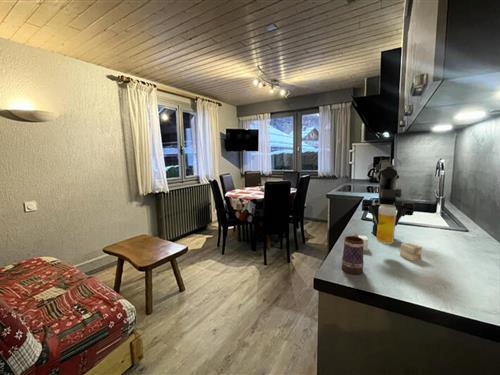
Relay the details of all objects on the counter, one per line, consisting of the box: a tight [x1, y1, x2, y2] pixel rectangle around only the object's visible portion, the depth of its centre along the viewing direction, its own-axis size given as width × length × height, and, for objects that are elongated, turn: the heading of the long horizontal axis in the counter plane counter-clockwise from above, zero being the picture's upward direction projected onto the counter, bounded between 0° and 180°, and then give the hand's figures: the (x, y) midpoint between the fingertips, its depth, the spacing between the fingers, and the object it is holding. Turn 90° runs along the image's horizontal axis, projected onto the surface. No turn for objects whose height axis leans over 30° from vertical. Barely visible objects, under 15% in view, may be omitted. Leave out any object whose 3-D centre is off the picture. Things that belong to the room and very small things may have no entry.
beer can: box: [376, 205, 397, 245], centre depth 93 cm, size 6×6×15 cm
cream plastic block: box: [358, 234, 369, 252], centre depth 102 cm, size 5×5×5 cm
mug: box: [341, 233, 365, 276], centre depth 83 cm, size 10×7×12 cm
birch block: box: [399, 242, 423, 261], centre depth 93 cm, size 5×5×5 cm
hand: (386, 224), depth 92 cm, fingers closed on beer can, 6 cm apart
